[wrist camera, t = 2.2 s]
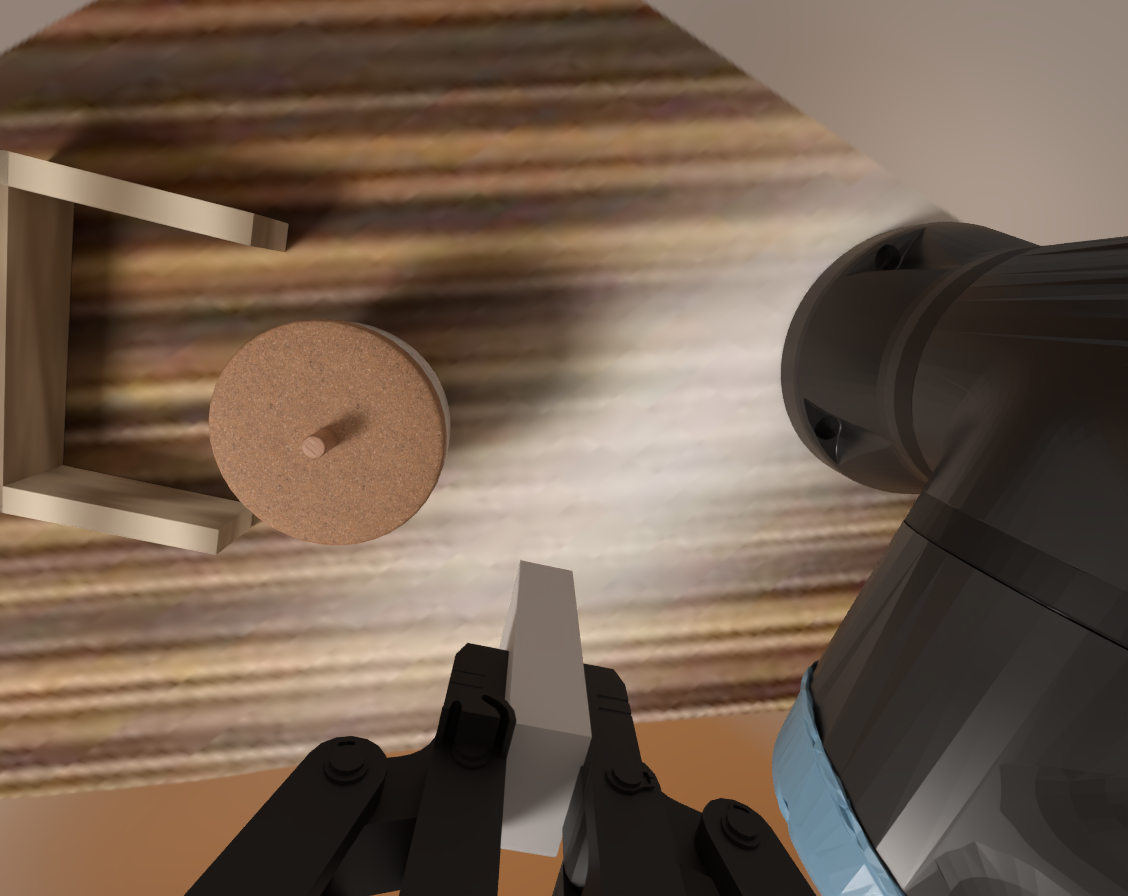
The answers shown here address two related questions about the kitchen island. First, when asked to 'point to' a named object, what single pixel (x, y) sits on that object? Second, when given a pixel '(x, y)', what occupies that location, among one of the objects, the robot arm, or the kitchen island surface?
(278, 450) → the lidded jar
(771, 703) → the kitchen island surface
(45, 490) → the birch dock
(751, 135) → the kitchen island surface
